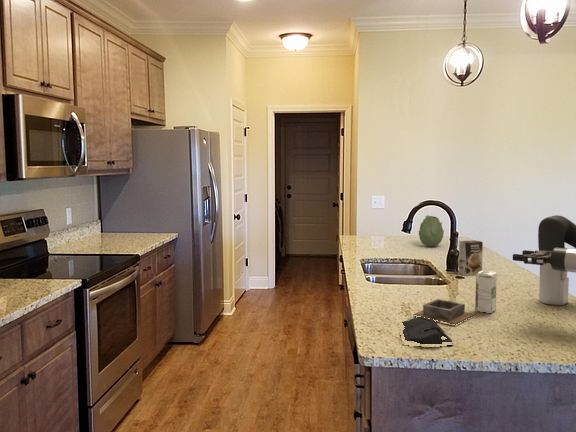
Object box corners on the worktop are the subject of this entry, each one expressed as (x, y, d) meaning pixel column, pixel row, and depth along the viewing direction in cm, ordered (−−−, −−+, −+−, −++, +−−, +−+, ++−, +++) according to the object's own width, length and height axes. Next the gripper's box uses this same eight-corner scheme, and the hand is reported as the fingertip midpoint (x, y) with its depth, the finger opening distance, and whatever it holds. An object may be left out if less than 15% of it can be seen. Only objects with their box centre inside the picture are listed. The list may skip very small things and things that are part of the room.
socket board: (474, 316, 175) (474, 304, 174) (455, 326, 165) (455, 313, 165) (433, 308, 186) (433, 296, 186) (413, 316, 177) (413, 304, 176)
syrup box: (480, 307, 185) (480, 269, 183) (496, 310, 181) (497, 271, 180) (474, 311, 181) (475, 272, 179) (491, 314, 177) (492, 274, 175)
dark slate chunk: (440, 325, 168) (440, 311, 168) (455, 349, 147) (455, 334, 146) (394, 325, 170) (394, 312, 169) (403, 349, 148) (403, 334, 148)
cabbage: (420, 249, 309) (420, 217, 306) (416, 244, 327) (416, 214, 325) (446, 249, 307) (446, 217, 304) (441, 244, 325) (441, 214, 323)
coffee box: (466, 276, 235) (466, 242, 233) (458, 273, 241) (458, 241, 239) (482, 274, 237) (483, 241, 235) (474, 271, 243) (474, 239, 242)
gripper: (562, 275, 154) (509, 269, 166) (576, 267, 164) (525, 262, 176) (562, 251, 154) (509, 247, 165) (576, 245, 163) (526, 241, 175)
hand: (518, 255), depth 171 cm, fingers open, 8 cm apart
